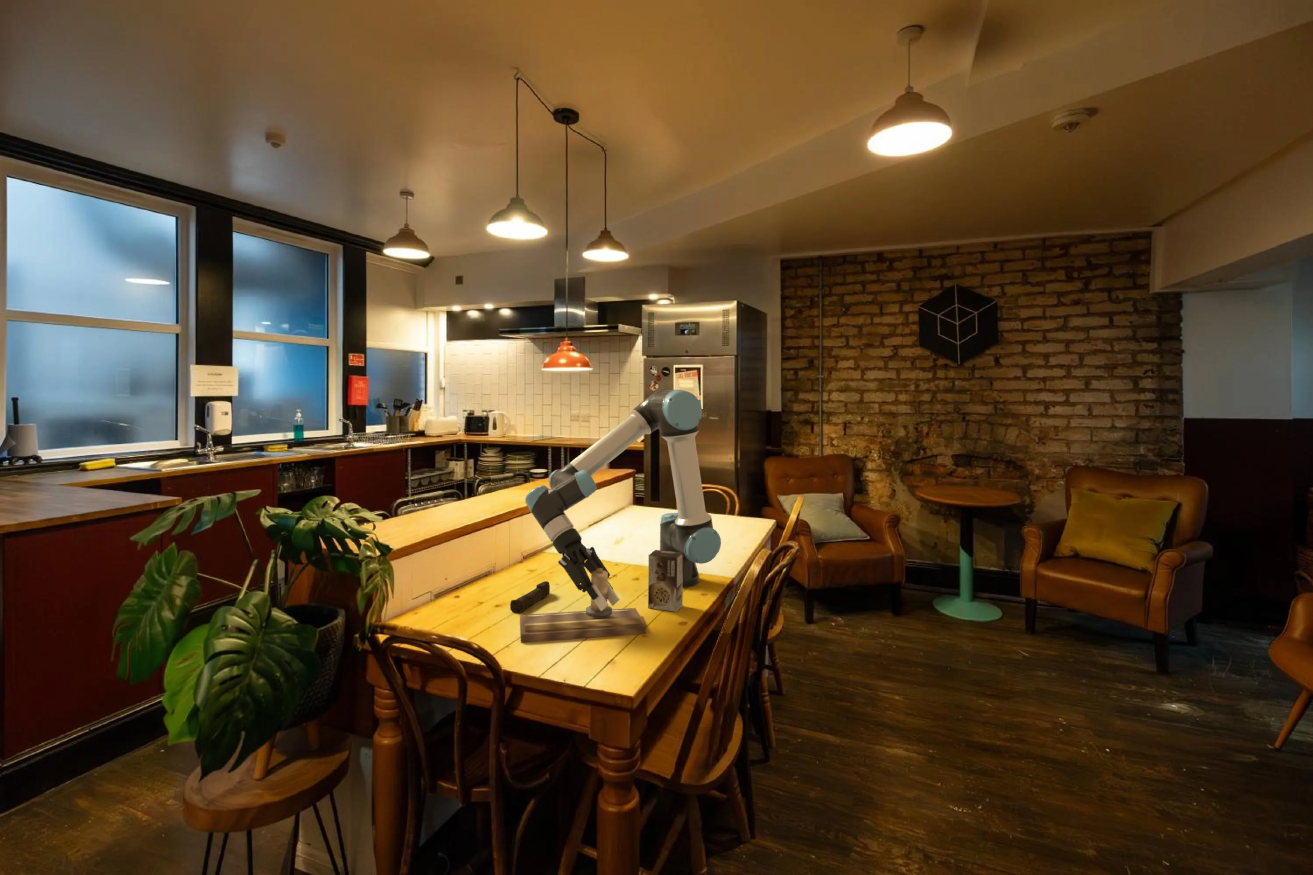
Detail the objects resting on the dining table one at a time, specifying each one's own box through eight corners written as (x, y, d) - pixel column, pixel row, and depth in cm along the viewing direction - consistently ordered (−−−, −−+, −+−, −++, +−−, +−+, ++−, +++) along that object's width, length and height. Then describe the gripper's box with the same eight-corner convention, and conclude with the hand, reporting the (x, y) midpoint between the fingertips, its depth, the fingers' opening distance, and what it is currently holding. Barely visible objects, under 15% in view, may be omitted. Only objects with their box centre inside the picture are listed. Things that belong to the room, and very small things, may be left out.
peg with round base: (609, 607, 171) (610, 564, 170) (613, 616, 164) (614, 572, 163) (584, 608, 169) (585, 565, 168) (587, 618, 162) (588, 573, 161)
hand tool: (521, 614, 174) (521, 598, 174) (509, 612, 176) (509, 596, 175) (556, 595, 192) (557, 580, 191) (545, 593, 193) (546, 578, 193)
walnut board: (635, 614, 175) (635, 602, 175) (645, 633, 162) (646, 620, 162) (519, 621, 168) (519, 609, 168) (520, 642, 154) (520, 628, 154)
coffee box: (683, 605, 184) (684, 552, 183) (676, 612, 178) (678, 557, 177) (654, 601, 187) (655, 548, 186) (646, 608, 181) (648, 554, 180)
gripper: (575, 537, 181) (620, 604, 173) (534, 549, 166) (581, 622, 158) (590, 522, 178) (637, 589, 170) (549, 532, 163) (599, 606, 155)
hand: (610, 605), depth 164 cm, fingers closed on peg with round base, 4 cm apart
